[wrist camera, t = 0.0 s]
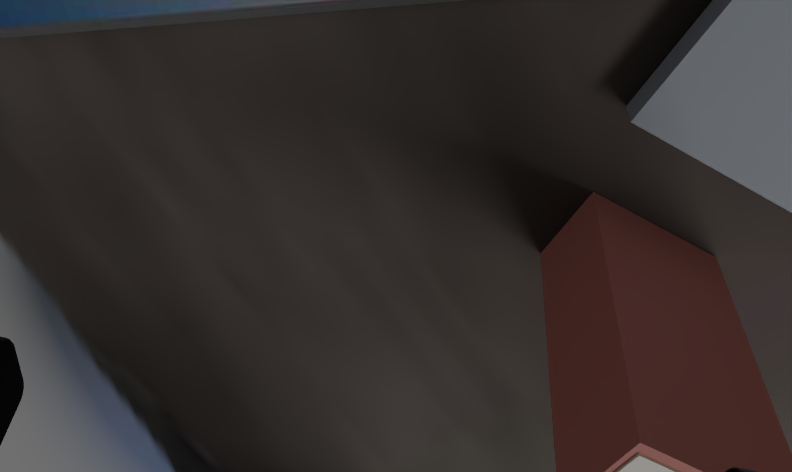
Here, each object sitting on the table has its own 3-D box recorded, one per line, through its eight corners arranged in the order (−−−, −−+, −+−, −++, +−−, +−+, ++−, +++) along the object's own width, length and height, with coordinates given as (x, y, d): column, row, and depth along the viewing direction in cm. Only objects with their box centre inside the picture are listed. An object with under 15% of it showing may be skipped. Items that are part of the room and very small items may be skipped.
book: (657, 312, 27) (725, 581, 18) (540, 253, 26) (558, 510, 18) (716, 257, 25) (819, 527, 17) (593, 191, 24) (640, 444, 16)
